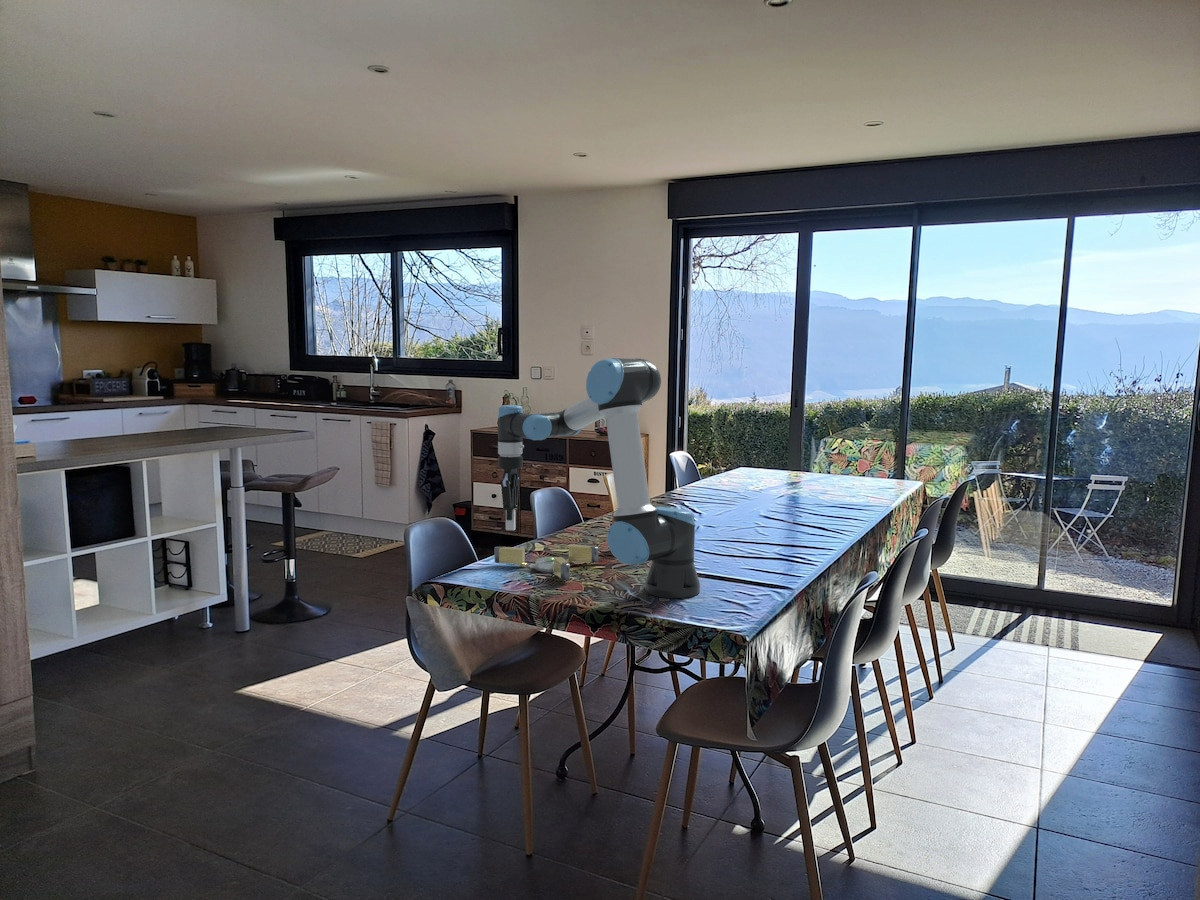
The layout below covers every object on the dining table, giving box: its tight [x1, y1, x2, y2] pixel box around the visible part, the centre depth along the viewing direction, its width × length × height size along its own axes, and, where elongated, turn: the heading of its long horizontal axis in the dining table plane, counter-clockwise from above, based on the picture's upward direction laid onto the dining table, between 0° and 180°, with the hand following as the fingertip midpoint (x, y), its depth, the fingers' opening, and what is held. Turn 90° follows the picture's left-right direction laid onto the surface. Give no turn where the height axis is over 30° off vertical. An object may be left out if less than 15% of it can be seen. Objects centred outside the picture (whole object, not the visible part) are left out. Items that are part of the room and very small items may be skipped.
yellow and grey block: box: [494, 546, 528, 568], centre depth 245 cm, size 10×3×6 cm, turn 78°
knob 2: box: [566, 544, 599, 564], centre depth 248 cm, size 10×3×6 cm, turn 74°
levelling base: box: [529, 556, 555, 575], centre depth 243 cm, size 12×11×3 cm
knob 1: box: [553, 556, 571, 581], centre depth 231 cm, size 10×3×6 cm, turn 18°
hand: (510, 529), depth 250 cm, fingers closed
